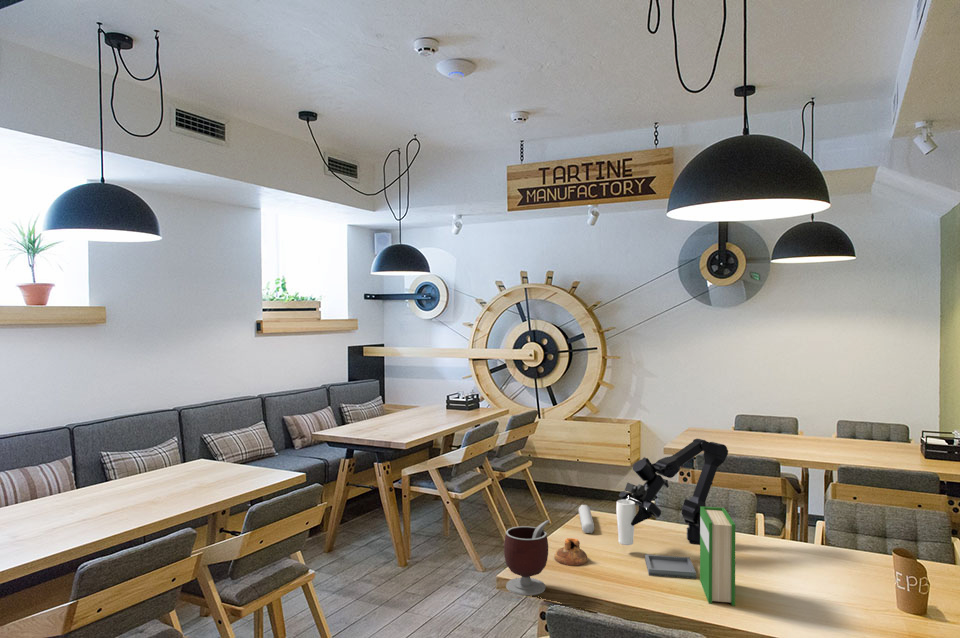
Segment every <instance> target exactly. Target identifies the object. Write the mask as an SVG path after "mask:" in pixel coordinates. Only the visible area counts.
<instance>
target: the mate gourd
mask: <svg viewBox="0 0 960 638" xmlns="http://www.w3.org/2000/svg"><path fill="white" fill-rule="evenodd" d="M548 523H550V520H549V519H547V520H545V521H543V522H541V523H540V524H539V525H537V527H535V526H528V525H525V526H524V525H522V526H521V525H520V526H513V527H510V528H508V529H507V530H506V531H505V536H504V537H505V538H504V543H503V554H504V560H505V564H506V566H507V568H508V569H509V571H510V572H511V573H513V574H515V575H517V576H520V577H516V578H512V579H509V580H508V581H507V582H506V584H505V585H506V586H505V587H506V590H507V591H509V592H510V593H513V594H515V595H518V596H524V597H525V596H527V597H528V596H530V597H531V596H537V595H541V594H543V593H544V591H546V584H545V583H544V582H543V581H541V580H539V579H537V578H532V577H533V576H537V575H540V574H541V573H542V572H543V570H544V569H545V567H546V566H547V563H548V558H549V542H548V535H547V534H548V533H547V532H546V531H545V530H544V528H545V527H546V526H547V524H548Z"/></svg>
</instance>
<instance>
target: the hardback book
mask: <svg viewBox="0 0 960 638" xmlns="http://www.w3.org/2000/svg"><path fill="white" fill-rule="evenodd" d="M699 582H700V585H701V587H702V590H703V592H704V595H705V597H706V600H707V603H708V604H709V605H712V604H713V602H720V603H730V605H731V606H732V607H735V606H736V523H735V521H734V520H733V519H732V517H731V515H730V514H729V512H728V511H727V510H726V509H725V507H717V506H716V507H714V506H706V507H702V506H700V544H699Z"/></svg>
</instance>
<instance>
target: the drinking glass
mask: <svg viewBox="0 0 960 638" xmlns="http://www.w3.org/2000/svg"><path fill="white" fill-rule="evenodd" d="M615 511H616V512H615V513H616V525H617V536H618V539H617V541H618V543H619V544H620V545H623V546H630V545H631V546H632V545H633V543H634V534H635V533H634V532H635V525H634V526H632V525H631V522H632V520H633V519H634V517H635V516H636V505H635V502H634V501H631V500H622V499H618V500H617V501H616V510H615Z"/></svg>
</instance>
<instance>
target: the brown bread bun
mask: <svg viewBox="0 0 960 638" xmlns="http://www.w3.org/2000/svg"><path fill="white" fill-rule="evenodd" d="M553 557H554V561H555V562H557V563H558V564H560V565H563V566H569V567H570V566H571V567H576V566H577V567H579V566H583V565H585V564H587V562H588V559H589V558H588V555H587V553H586V552H585V551H584V550H583V549H581V548H580V540H579V539H577V538H573V537H569V538H565V540H564V547H560V548H558V550H556V552H555V554H554V556H553Z"/></svg>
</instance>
